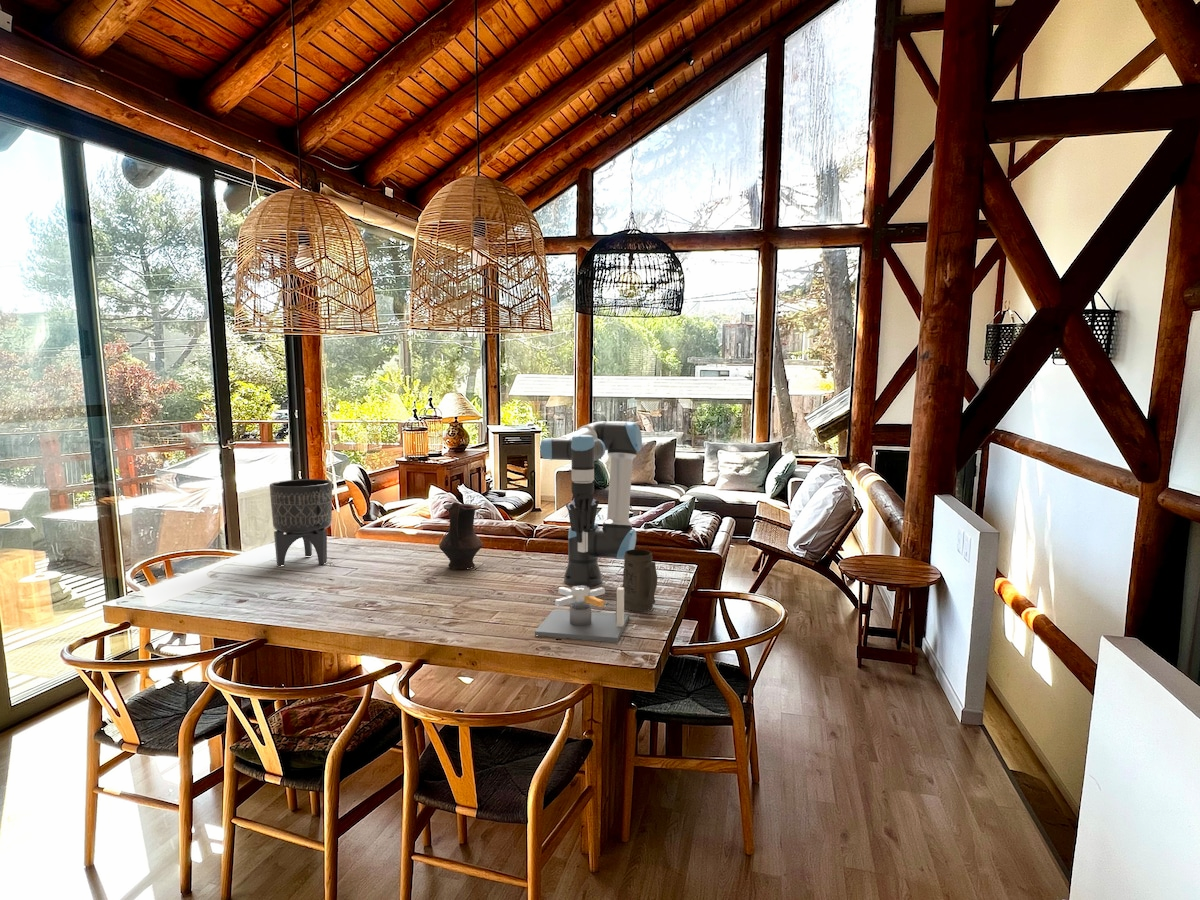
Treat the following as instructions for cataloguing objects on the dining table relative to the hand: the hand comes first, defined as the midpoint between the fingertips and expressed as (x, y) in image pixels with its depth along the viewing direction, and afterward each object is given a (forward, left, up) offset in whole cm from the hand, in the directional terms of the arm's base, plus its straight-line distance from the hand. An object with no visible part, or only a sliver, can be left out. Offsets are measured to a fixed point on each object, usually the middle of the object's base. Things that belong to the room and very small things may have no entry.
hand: (582, 551), depth 228 cm
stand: (+10, +2, -22) cm, 25 cm away
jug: (-50, -65, -23) cm, 85 cm away
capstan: (+10, +2, -16) cm, 19 cm away
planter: (-44, -136, -23) cm, 145 cm away
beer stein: (-13, +19, -23) cm, 32 cm away
